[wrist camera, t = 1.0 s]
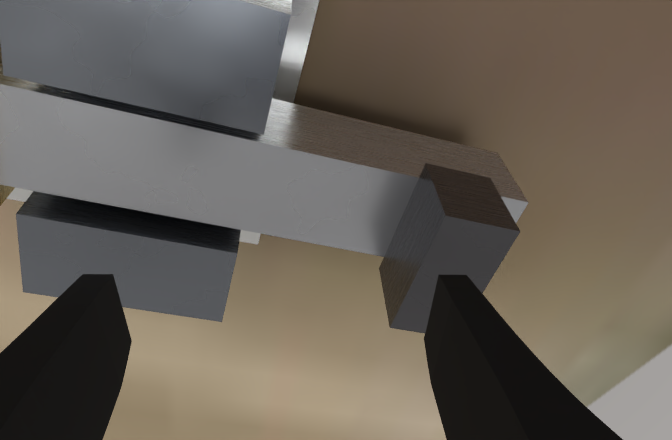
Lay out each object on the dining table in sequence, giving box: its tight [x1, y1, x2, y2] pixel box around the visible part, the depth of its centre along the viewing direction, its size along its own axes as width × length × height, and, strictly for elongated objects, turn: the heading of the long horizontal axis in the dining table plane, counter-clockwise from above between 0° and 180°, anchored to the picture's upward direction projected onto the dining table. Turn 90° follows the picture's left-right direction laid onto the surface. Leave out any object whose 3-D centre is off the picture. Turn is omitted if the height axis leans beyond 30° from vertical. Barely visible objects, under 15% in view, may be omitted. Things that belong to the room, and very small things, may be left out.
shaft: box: [0, 43, 528, 333], centre depth 14 cm, size 19×4×6 cm, turn 74°
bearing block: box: [0, 0, 319, 322], centre depth 15 cm, size 14×12×6 cm
